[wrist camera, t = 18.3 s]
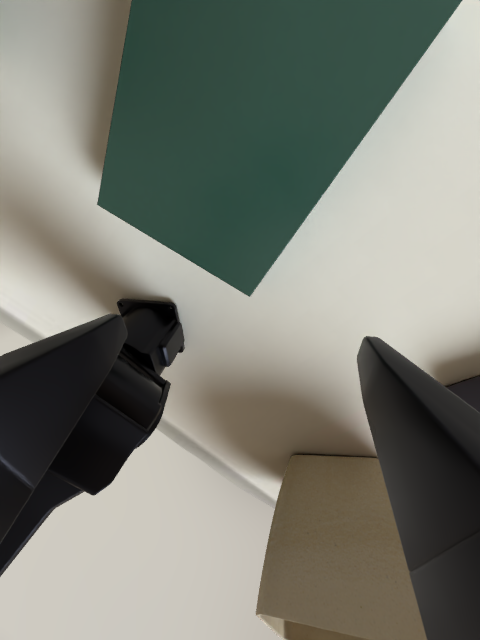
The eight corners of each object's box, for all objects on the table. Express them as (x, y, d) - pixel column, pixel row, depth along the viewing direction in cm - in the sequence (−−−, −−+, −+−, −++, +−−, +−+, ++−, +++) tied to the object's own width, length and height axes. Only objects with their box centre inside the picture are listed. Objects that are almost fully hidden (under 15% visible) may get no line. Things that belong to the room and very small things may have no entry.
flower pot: (412, 444, 31) (510, 675, 17) (396, 506, 41) (450, 683, 27) (267, 439, 36) (253, 613, 22) (284, 495, 46) (281, 639, 32)
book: (254, 281, 22) (249, 297, 19) (121, 198, 20) (97, 204, 17) (448, 2, 12) (489, -38, 9) (217, -229, 10) (191, -360, 7)
